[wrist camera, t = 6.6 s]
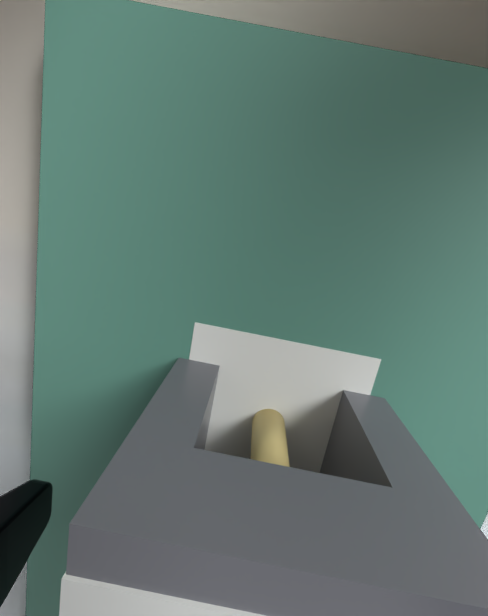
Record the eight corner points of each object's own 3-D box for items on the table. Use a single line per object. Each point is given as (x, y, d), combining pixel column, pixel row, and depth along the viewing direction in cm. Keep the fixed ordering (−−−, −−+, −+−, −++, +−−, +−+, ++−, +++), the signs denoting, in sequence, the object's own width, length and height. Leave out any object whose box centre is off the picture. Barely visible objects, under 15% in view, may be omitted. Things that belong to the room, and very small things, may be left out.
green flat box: (361, 711, 12) (403, 917, 8) (46, 645, 12) (-46, 821, 8) (608, 124, 7) (958, 16, 4) (81, 24, 7) (-99, -178, 4)
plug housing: (324, 586, 9) (382, 922, 5) (149, 550, 9) (44, 848, 5) (385, 398, 8) (553, 627, 3) (178, 357, 8) (63, 527, 3)
